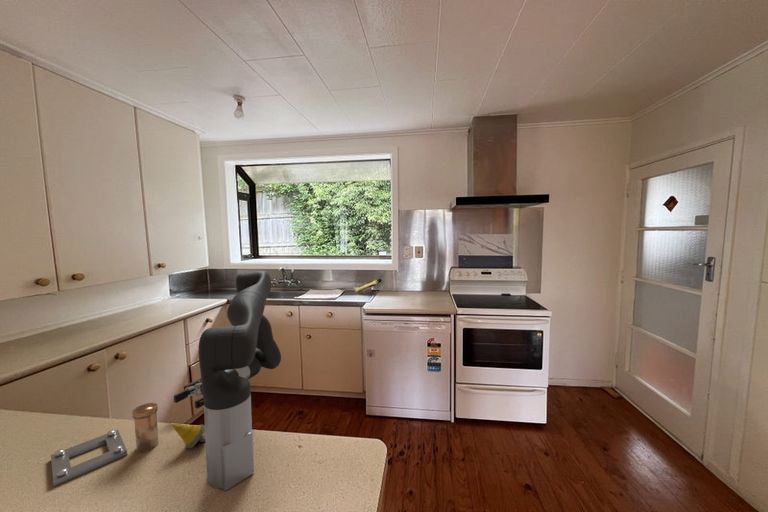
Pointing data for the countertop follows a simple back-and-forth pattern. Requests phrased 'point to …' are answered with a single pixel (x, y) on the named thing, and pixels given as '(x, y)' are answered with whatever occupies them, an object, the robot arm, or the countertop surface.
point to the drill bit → (190, 434)
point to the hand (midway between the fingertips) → (184, 402)
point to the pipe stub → (146, 426)
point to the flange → (66, 472)
